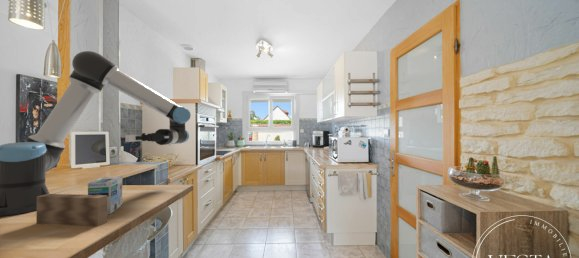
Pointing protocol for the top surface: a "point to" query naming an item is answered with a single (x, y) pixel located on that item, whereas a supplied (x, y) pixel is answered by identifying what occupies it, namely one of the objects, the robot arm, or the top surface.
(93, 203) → the walnut board
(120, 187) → the light bulb box
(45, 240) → the top surface
